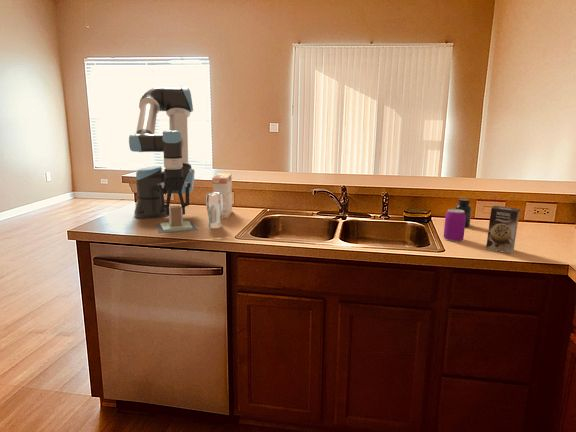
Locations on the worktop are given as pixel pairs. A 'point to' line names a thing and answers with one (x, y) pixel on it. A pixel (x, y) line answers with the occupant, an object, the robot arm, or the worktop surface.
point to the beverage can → (454, 225)
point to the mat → (174, 231)
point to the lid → (176, 221)
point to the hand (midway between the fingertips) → (176, 222)
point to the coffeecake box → (224, 191)
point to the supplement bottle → (465, 209)
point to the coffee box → (502, 228)
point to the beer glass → (214, 209)
